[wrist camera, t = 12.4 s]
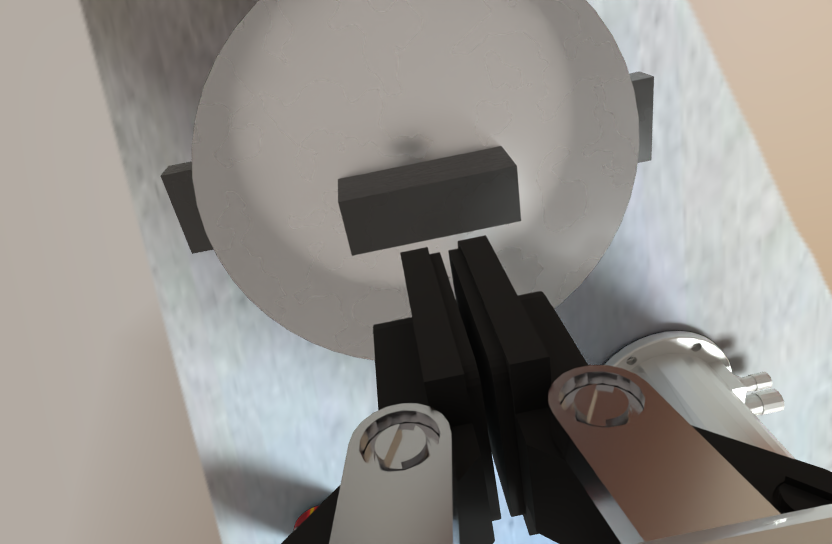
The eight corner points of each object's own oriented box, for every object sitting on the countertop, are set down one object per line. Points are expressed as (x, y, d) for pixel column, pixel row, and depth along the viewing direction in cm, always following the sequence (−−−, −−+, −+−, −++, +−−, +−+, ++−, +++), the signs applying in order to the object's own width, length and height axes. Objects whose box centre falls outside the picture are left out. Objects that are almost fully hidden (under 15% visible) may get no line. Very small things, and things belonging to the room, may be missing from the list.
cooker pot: (564, -84, 33) (669, -106, 22) (574, 206, 41) (654, 289, 31) (167, -7, 32) (84, 8, 22) (262, 270, 41) (235, 376, 30)
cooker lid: (630, -114, 21) (685, -122, 18) (620, 303, 31) (654, 348, 28) (121, -15, 21) (81, -5, 18) (273, 376, 31) (266, 430, 27)
